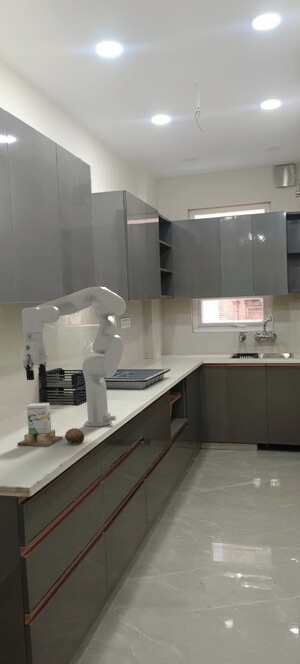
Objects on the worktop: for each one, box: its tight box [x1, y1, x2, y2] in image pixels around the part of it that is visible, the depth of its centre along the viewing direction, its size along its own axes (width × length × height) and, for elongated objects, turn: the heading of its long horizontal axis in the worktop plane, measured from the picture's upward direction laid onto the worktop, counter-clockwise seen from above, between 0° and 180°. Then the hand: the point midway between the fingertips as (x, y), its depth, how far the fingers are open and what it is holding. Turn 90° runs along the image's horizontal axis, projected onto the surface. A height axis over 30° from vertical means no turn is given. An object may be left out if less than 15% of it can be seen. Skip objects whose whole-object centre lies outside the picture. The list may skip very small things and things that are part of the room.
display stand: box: [17, 429, 63, 448], centre depth 209 cm, size 12×14×4 cm
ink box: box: [26, 402, 52, 434], centre depth 209 cm, size 8×5×12 cm, turn 86°
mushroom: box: [64, 427, 85, 445], centre depth 204 cm, size 8×8×6 cm
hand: (36, 378), depth 212 cm, fingers open, 9 cm apart
